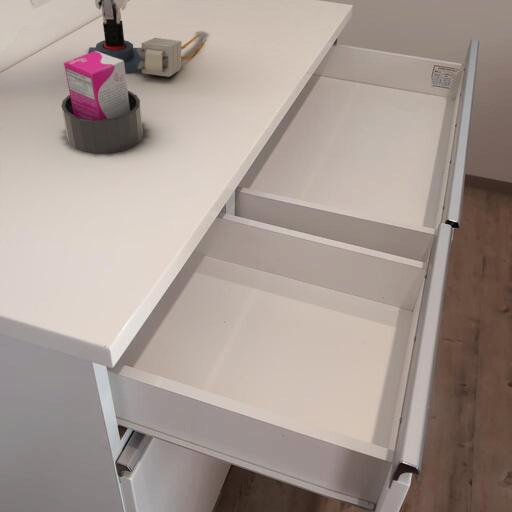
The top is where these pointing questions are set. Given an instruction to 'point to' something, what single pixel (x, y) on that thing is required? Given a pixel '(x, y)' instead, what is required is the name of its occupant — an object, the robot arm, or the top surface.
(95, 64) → the supplement box
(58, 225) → the top surface
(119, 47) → the power button
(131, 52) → the button housing
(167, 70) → the electrical component
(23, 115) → the top surface
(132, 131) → the dark grey round bin
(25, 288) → the top surface
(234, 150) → the top surface
